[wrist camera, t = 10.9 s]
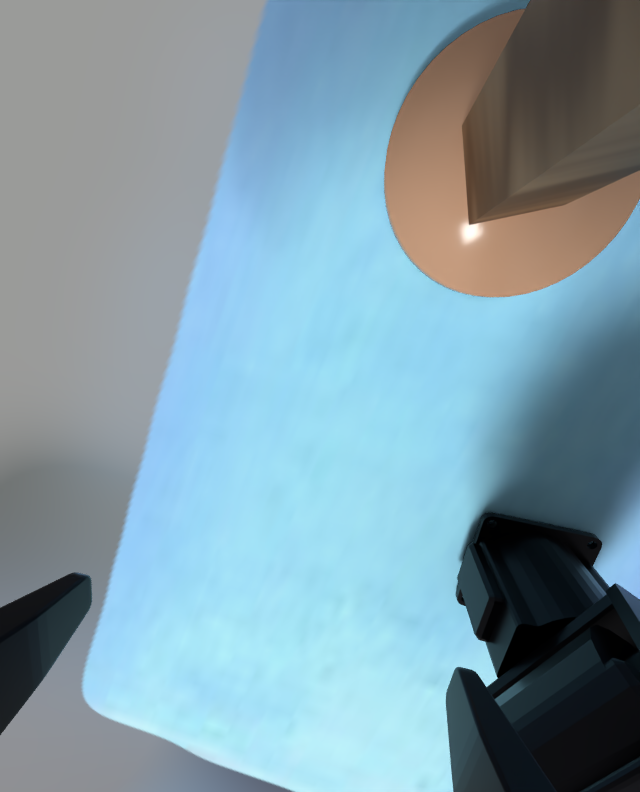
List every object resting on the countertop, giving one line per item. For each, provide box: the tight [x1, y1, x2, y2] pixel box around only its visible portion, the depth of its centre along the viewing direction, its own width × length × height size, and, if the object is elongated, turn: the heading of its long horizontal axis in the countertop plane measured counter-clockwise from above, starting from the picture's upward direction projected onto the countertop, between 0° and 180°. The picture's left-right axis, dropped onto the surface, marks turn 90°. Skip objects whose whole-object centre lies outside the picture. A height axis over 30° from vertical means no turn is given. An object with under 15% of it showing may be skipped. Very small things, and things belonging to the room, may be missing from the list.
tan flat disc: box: [384, 9, 640, 297], centre depth 16 cm, size 11×11×1 cm
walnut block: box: [462, 0, 640, 225], centre depth 10 cm, size 4×4×11 cm
